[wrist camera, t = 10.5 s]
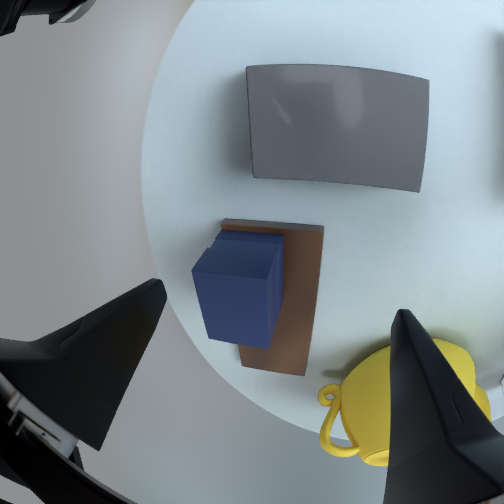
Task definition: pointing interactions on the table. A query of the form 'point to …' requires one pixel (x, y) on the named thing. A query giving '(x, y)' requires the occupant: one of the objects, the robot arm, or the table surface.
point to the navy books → (256, 244)
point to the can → (502, 384)
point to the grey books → (338, 124)
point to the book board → (288, 296)
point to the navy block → (237, 295)
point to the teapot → (382, 402)
